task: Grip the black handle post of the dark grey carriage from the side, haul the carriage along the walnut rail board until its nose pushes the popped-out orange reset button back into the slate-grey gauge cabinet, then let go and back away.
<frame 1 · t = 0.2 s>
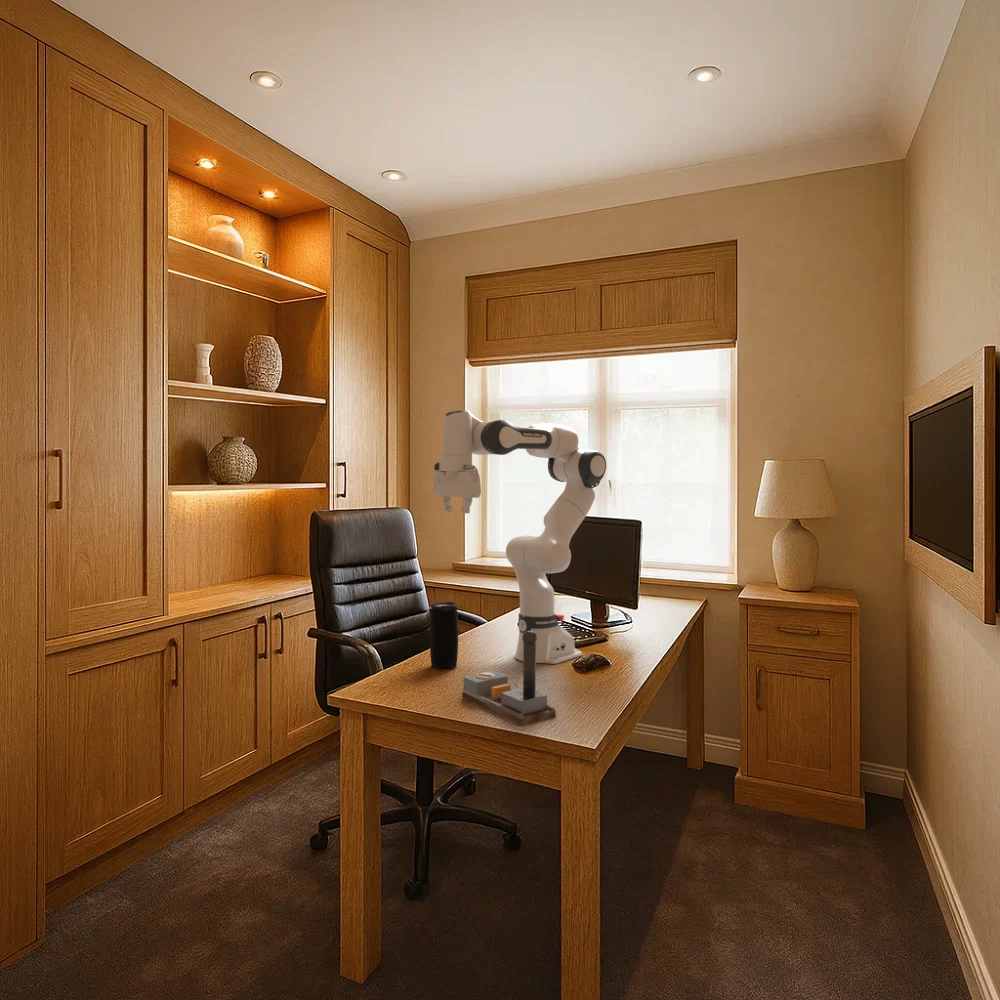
hand: (456, 512, 204), 48 cm above the table, tool pointing down, fingers open, 8 cm apart
portable speaker: (444, 667, 213), on the table
gauge cabinet: (485, 682, 184), point 4 cm above the table
reset button: (501, 690, 178), point 4 cm above the table, slide at 3.0 cm
rail board: (492, 700, 182), on the table
carriage: (524, 668, 170), point 11 cm above the table, slide at 0.0 cm
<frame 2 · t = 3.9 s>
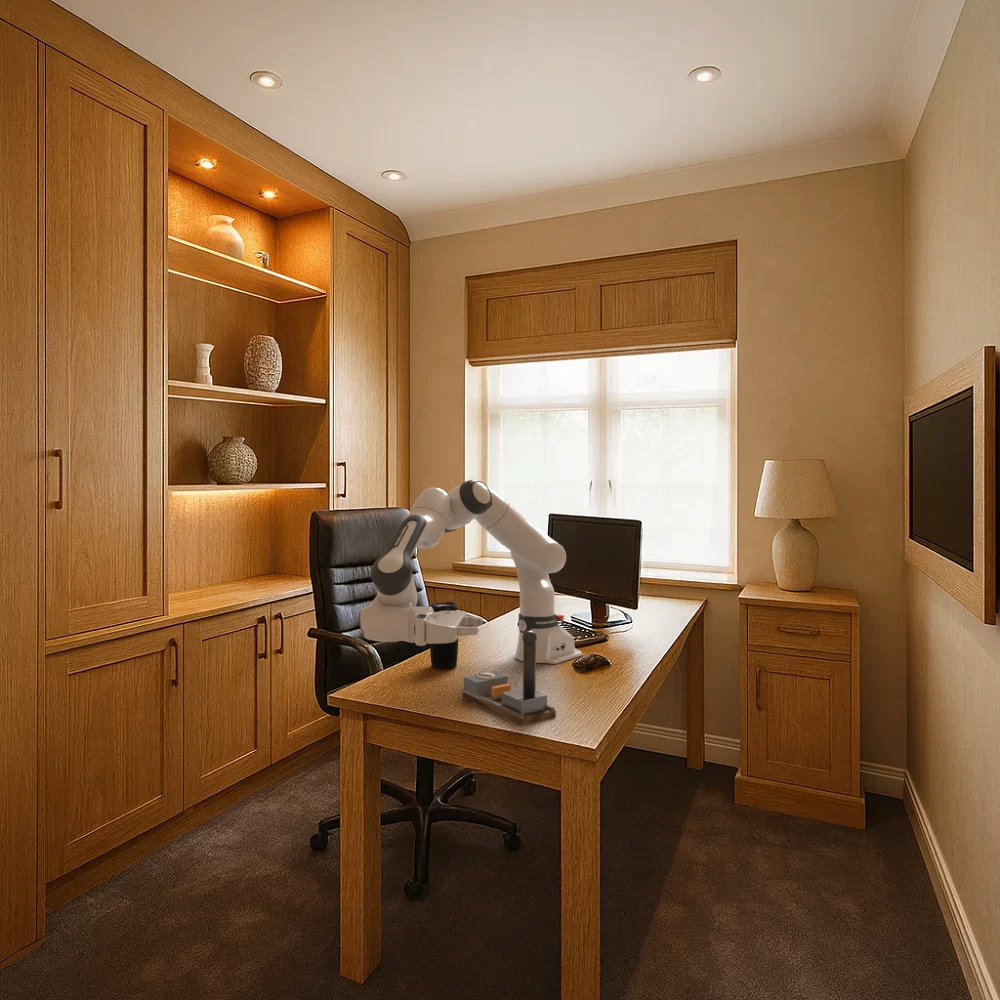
hand: (480, 626, 169), 22 cm above the table, tool horizontal, fingers open, 8 cm apart
nothing on the table moved.
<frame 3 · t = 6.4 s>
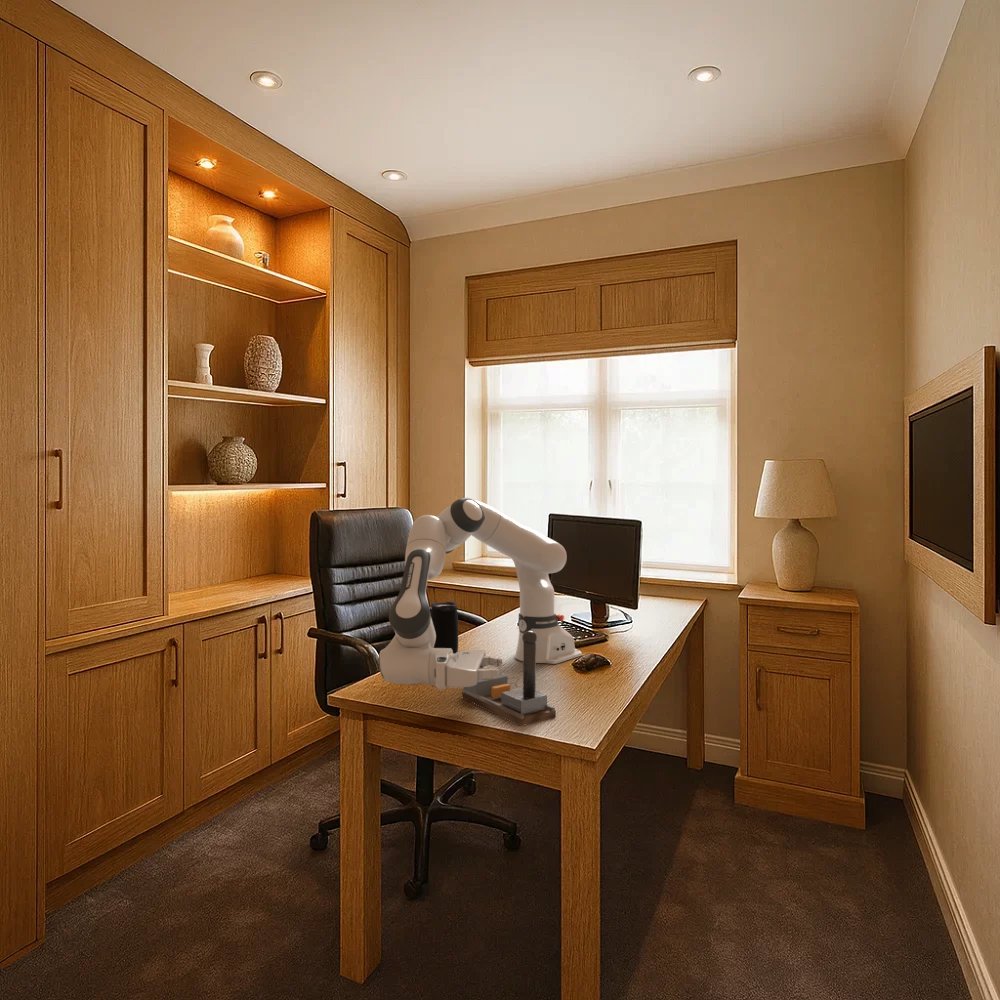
hand: (500, 667, 169), 12 cm above the table, tool horizontal, fingers open, 8 cm apart
nothing on the table moved.
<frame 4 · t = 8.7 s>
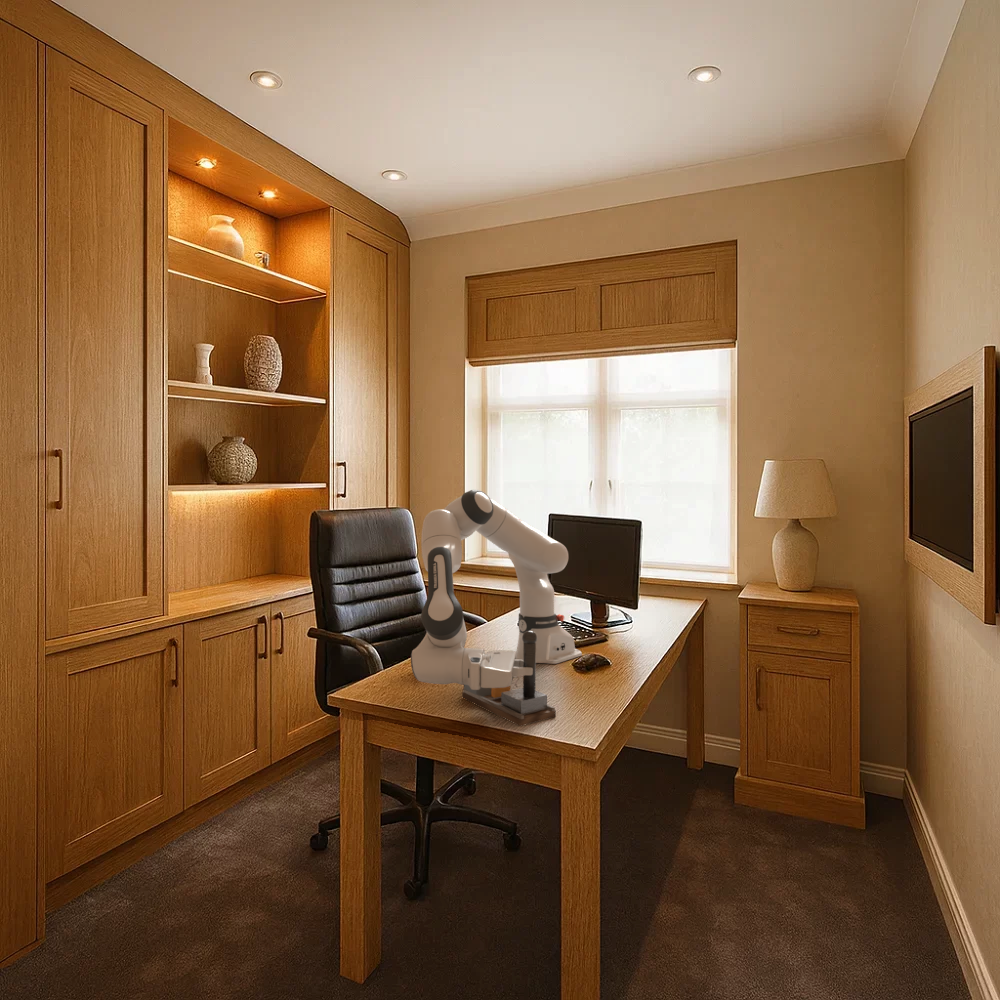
hand: (533, 668, 169), 12 cm above the table, tool horizontal, fingers closed on carriage, 3 cm apart
carriage: (524, 668, 170), point 11 cm above the table, slide at 0.0 cm, touching gripper
everything else where it was.
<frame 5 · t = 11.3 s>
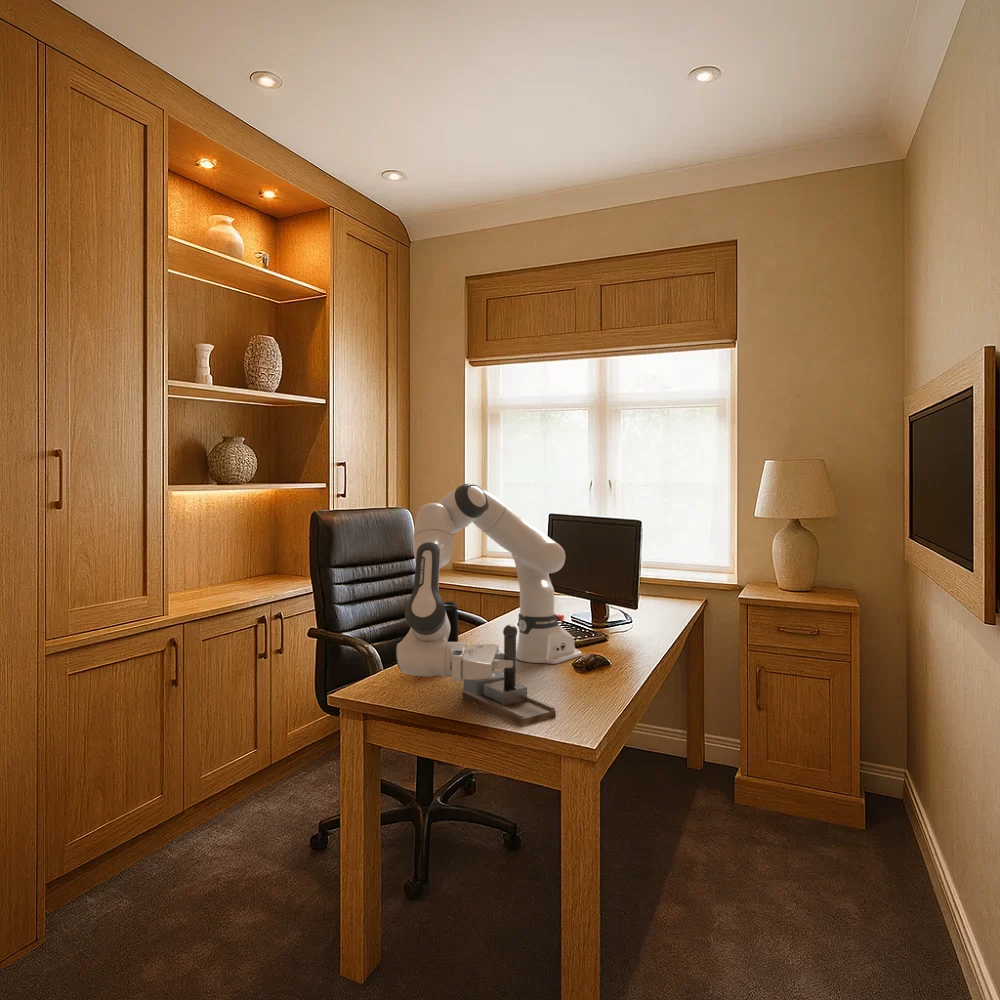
hand: (513, 661, 175), 12 cm above the table, tool horizontal, fingers closed on carriage, 3 cm apart
reset button: (494, 687, 181), point 4 cm above the table, slide at 0.0 cm, touching carriage
carriage: (505, 661, 177), point 11 cm above the table, slide at 7.9 cm, touching gripper, reset button
everything else where it was.
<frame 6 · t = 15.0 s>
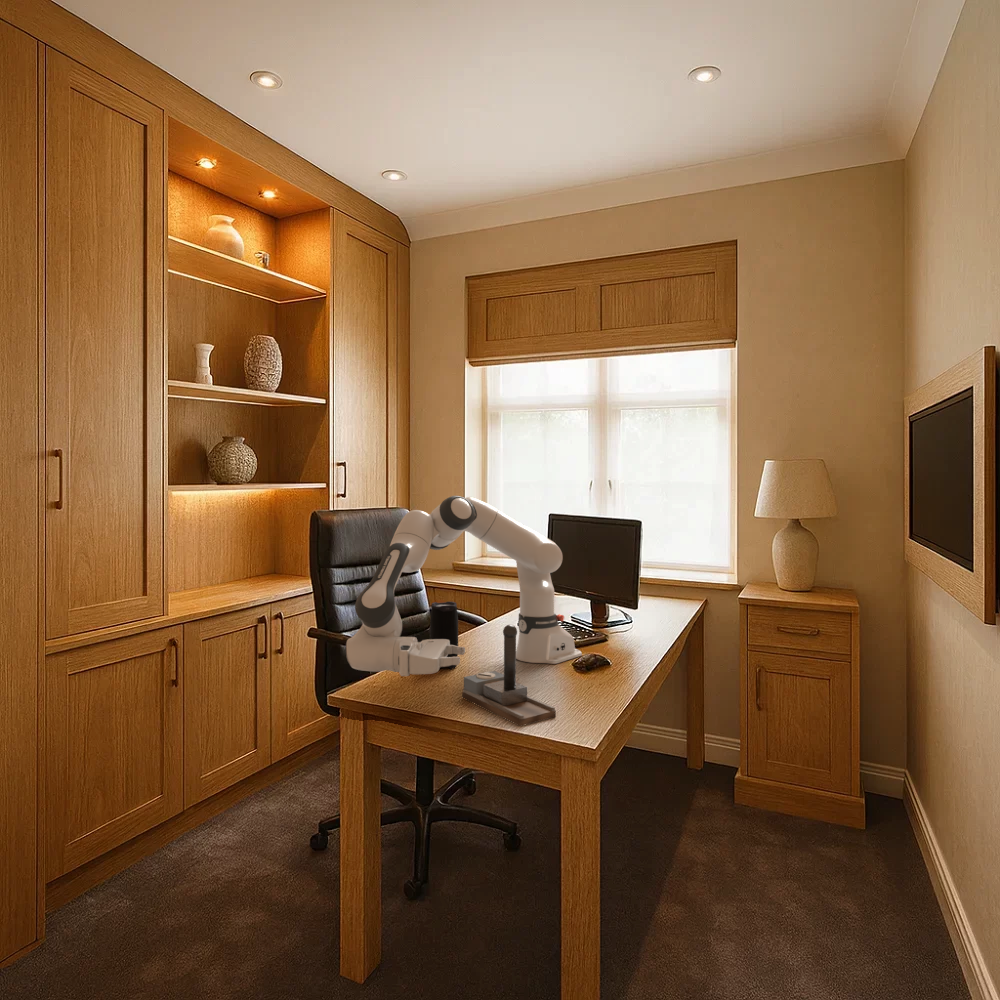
hand: (462, 655, 176), 13 cm above the table, tool horizontal, fingers open, 8 cm apart
carriage: (505, 661, 177), point 11 cm above the table, slide at 7.9 cm, touching reset button
everything else where it was.
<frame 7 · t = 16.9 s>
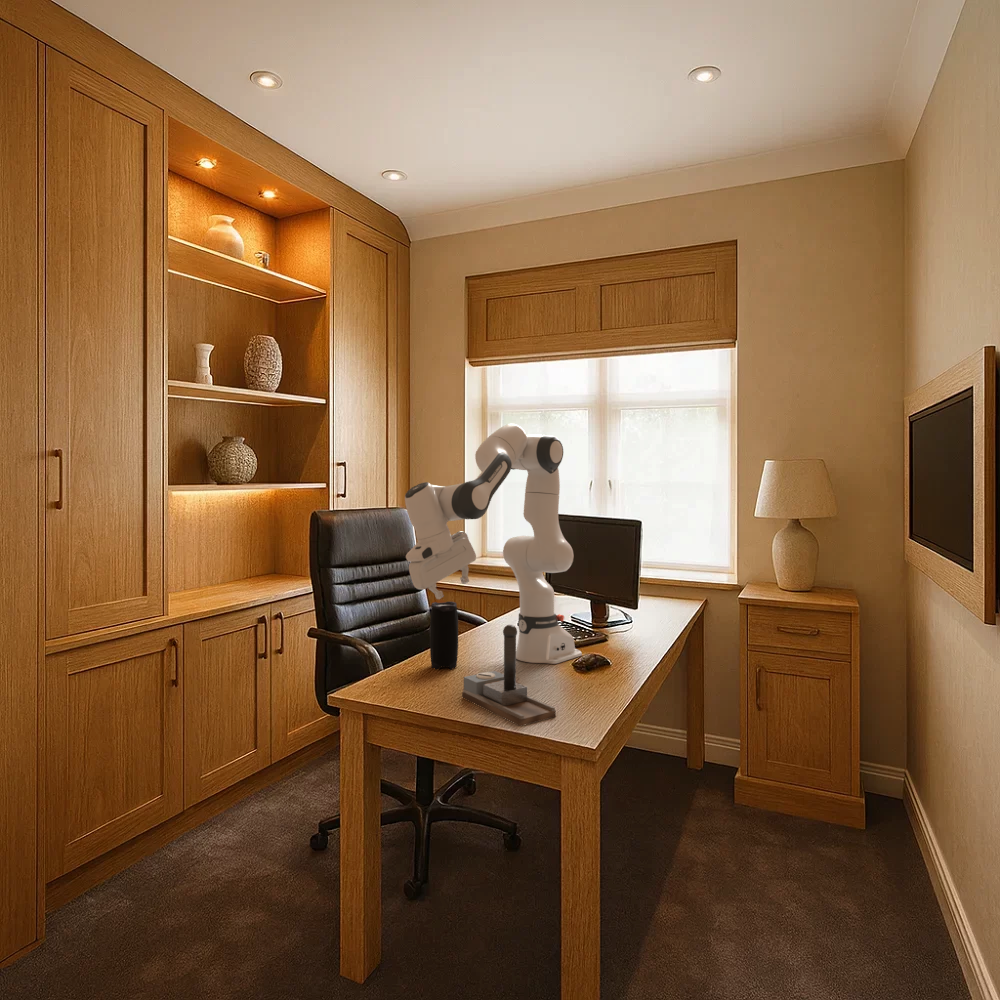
hand: (453, 590, 188), 28 cm above the table, tool tilted 20°, fingers open, 8 cm apart
nothing on the table moved.
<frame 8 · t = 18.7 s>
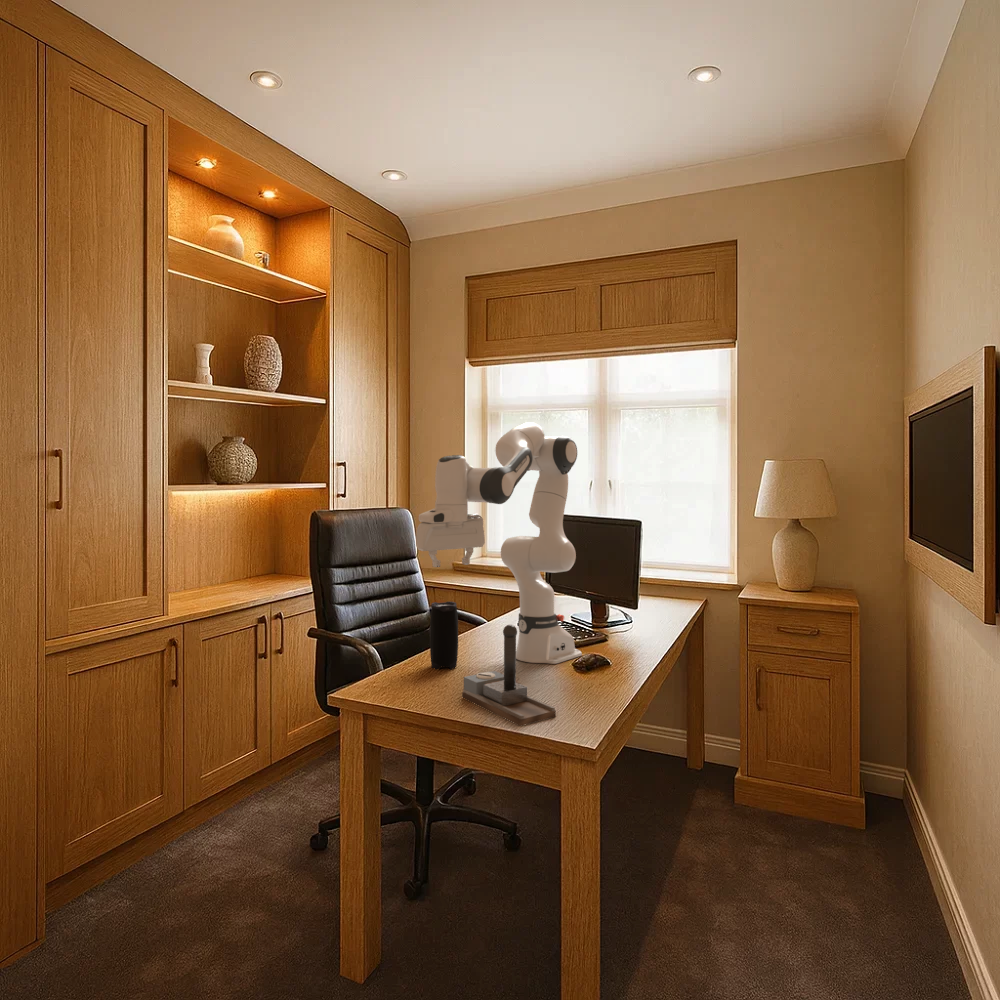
hand: (451, 565, 189), 34 cm above the table, tool pointing down, fingers open, 8 cm apart
nothing on the table moved.
at the end: carriage slide at 7.9 cm; reset button slide at 0.0 cm; the gripper is holding nothing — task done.
